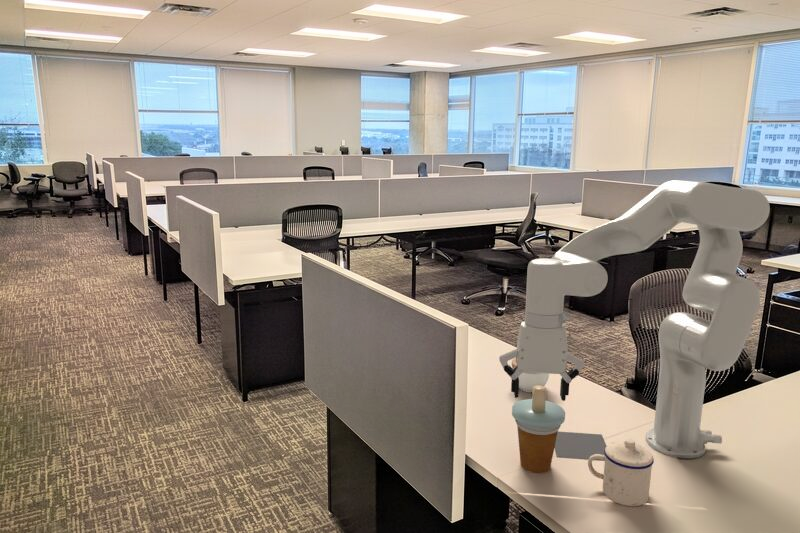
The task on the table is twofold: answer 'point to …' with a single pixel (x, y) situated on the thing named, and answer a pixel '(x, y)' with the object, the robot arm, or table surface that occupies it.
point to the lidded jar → (530, 379)
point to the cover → (538, 410)
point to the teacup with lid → (625, 472)
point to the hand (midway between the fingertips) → (539, 396)
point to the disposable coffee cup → (536, 447)
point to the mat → (579, 445)
